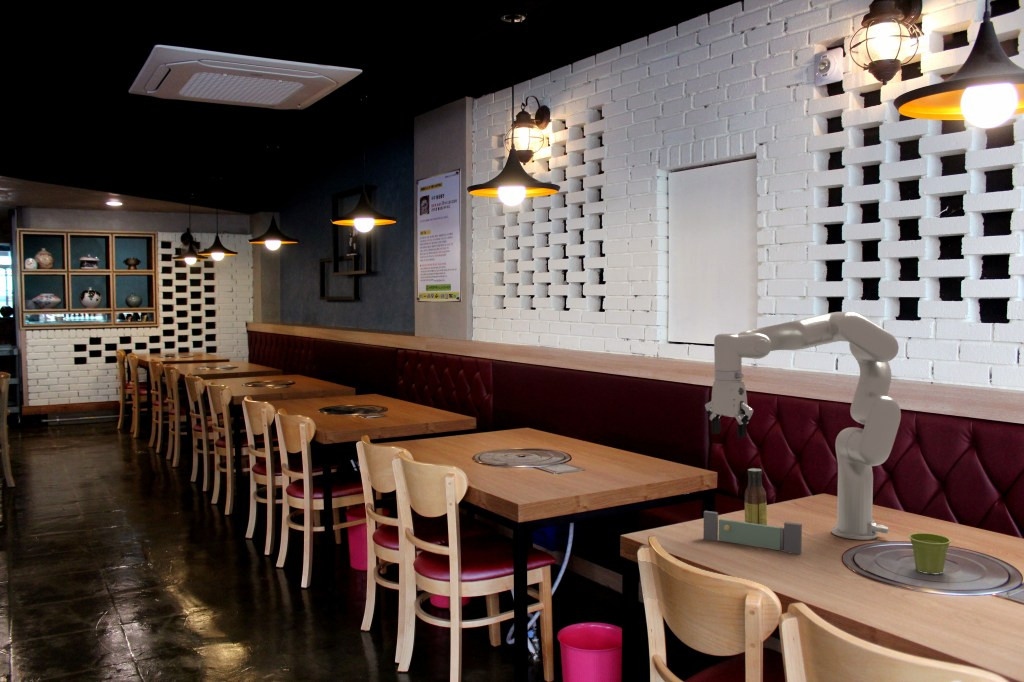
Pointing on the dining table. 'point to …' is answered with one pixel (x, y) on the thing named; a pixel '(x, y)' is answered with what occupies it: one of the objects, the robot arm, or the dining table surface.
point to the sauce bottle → (755, 499)
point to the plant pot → (929, 551)
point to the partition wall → (790, 532)
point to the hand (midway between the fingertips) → (728, 435)
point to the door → (751, 534)
